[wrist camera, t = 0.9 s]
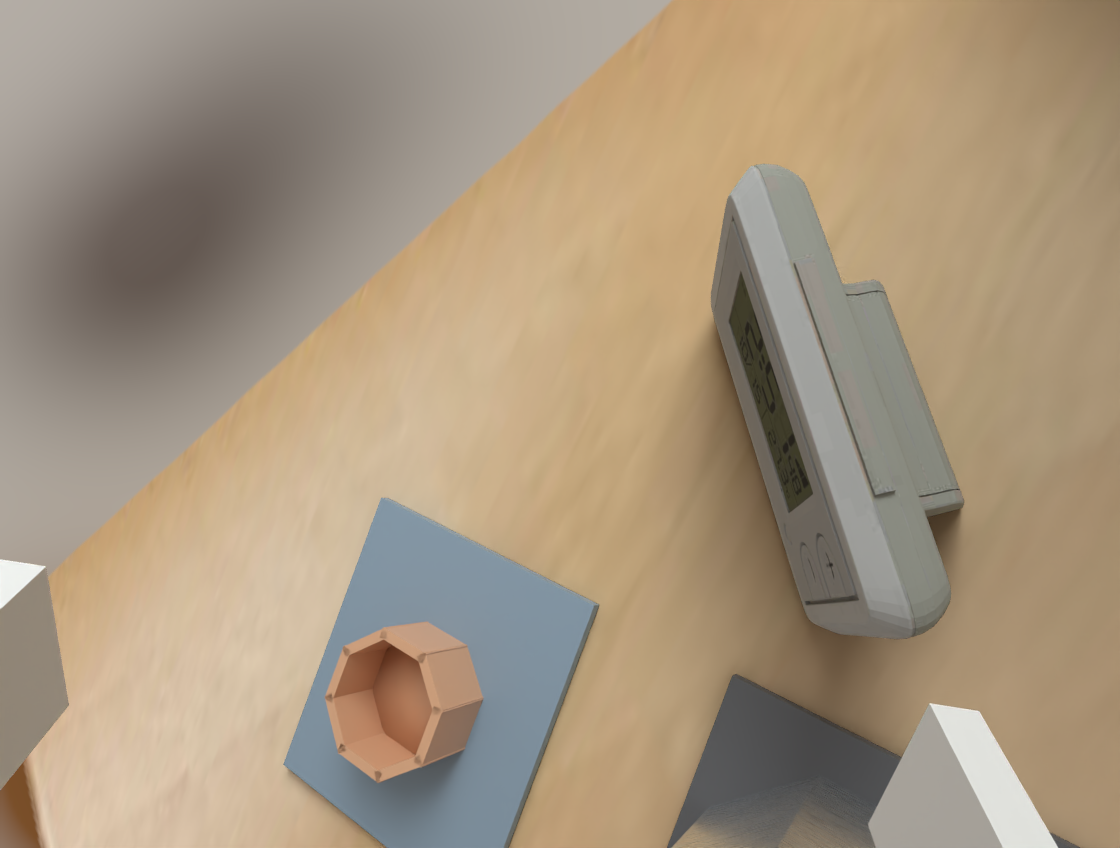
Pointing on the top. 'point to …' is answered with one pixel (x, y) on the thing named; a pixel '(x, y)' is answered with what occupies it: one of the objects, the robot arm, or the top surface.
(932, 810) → the robot arm
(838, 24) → the top surface
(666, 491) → the top surface
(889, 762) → the black mat
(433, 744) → the terracotta bowl
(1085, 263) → the top surface
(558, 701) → the blue board
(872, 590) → the digital clock
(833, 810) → the steel canister
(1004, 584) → the top surface
